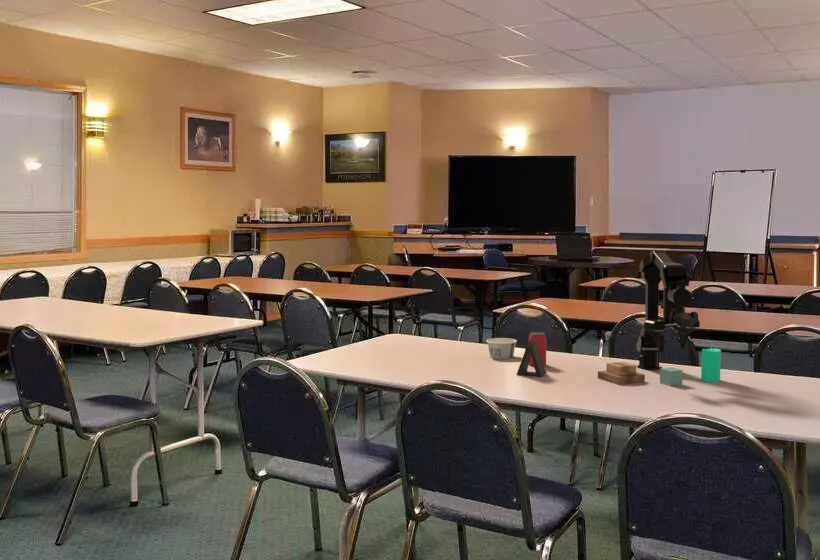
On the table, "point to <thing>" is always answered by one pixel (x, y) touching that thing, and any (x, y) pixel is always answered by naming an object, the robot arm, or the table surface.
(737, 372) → the table surface
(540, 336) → the beer can
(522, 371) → the dark grey a-shaped piece
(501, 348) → the food container
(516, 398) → the table surface
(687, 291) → the robot arm
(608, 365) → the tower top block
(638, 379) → the tower base block
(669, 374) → the teal cube
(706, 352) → the candle
